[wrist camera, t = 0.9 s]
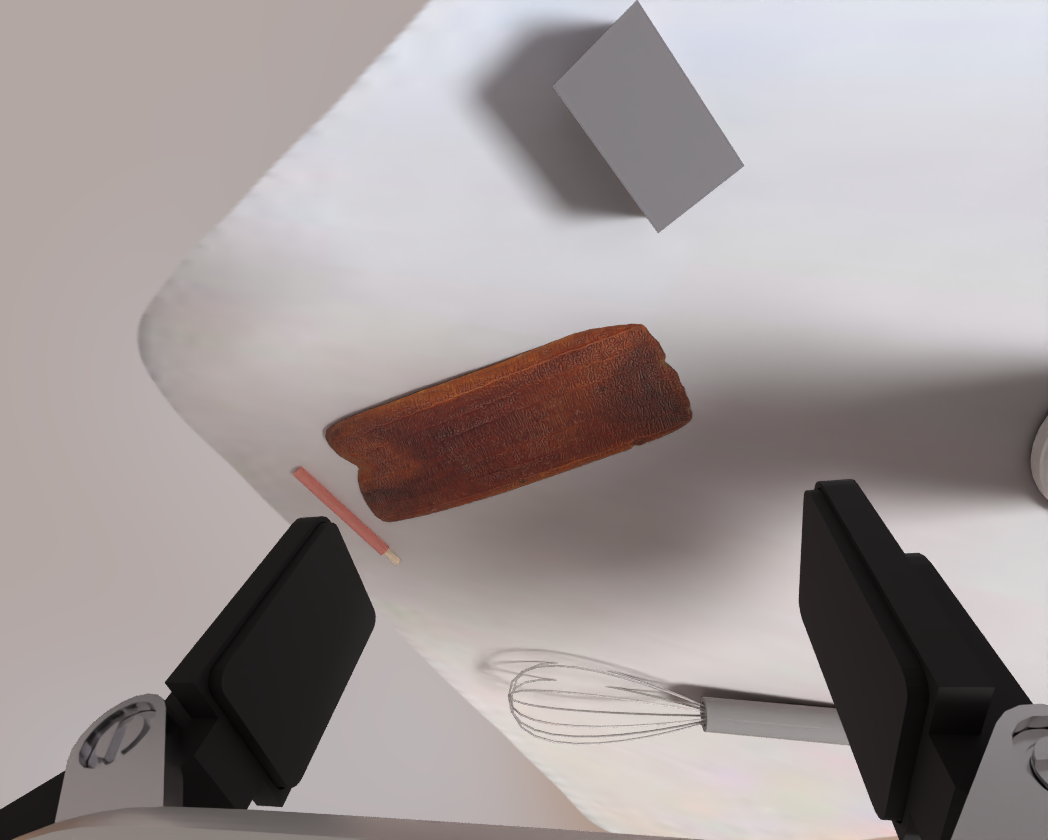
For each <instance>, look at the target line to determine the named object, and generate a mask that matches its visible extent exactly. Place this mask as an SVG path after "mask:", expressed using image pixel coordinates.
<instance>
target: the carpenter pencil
mask: <svg viewBox="0 0 1048 840" xmlns="http://www.w3.org/2000/svg"><path fill="white" fill-rule="evenodd" d="M293 475H294V476H295V477H296V478H297V479H298V480H299V481H300V482H301V483H303V484H304V485H305V486H306V487H307V488H308V489H309V490H310V491H311V492H312V493H313V494H315V495H316V496H317V497H318V498H319V499H320V500H321V501H322V502H323V503H324V504H326V505H327V506H328V507H329V508H330V509H331V510H332V511H333V512H334V513H335V514H337V515H338V516H339V517H340V518H341V519H342V520H343V521H344V522H345V523H346V524H348V525H349V526H350V527H351V528H352V529H353V530H354V531H355V532H356V533H357V534H358V535H360V536H361V537H362V538H363V539H364V540H365V541H366V542H367V543H368V544H369V545H371V546H372V547H373V548H374V549H375V550H376V551H377V552H378V553H379V554H380V555H382V554H384V555H385V556H387V557H388V558H389V559H390V560H391V561H392V562H393V563H394V564H395V565H398V564H399V563H400V561H401V560H400V559H399V558H398V557H397V556H396V555H395V554H394V553H392V552H391V551H390V550H389V549H388V548H389V547H388V546H387V545H386V544H385V543H384V542H383V541H382V540H381V539H380V538H379V537H377V536H376V535H375V534H374V533H373V532H372V531H371V530H370V529H369V528H368V527H367V526H366V525H364V524H363V523H362V522H361V521H360V520H359V519H358V518H357V517H356V516H355V515H354V514H352V513H351V512H350V511H349V510H348V509H347V508H346V507H345V506H344V505H343V504H342V503H341V502H339V501H338V500H337V499H336V498H335V497H334V496H333V495H332V494H331V493H330V492H329V491H327V490H326V489H325V488H324V487H323V486H322V485H321V484H320V483H319V482H318V481H317V480H316V479H314V478H313V477H312V476H311V475H310V474H309V473H308V472H307V471H306V470H305V469H304V468H302V467H300V468H299V469H298V470H297V471H296V472H295V473H294V474H293Z"/></svg>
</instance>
